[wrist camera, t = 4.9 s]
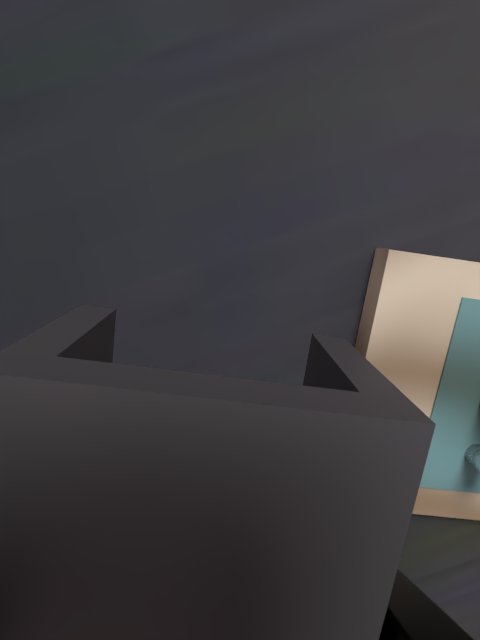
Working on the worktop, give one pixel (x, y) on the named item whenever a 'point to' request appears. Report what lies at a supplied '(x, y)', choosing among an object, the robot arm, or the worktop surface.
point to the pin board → (431, 364)
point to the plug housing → (198, 494)
